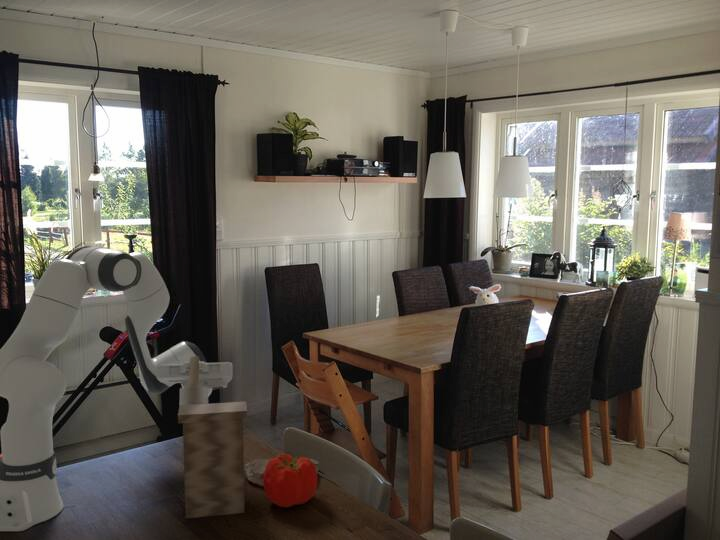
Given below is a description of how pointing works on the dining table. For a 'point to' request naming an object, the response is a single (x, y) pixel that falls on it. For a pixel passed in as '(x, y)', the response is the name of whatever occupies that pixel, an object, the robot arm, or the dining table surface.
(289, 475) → the tomato
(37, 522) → the robot arm
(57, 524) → the dining table surface
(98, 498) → the dining table surface
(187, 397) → the mallet
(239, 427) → the walnut stand
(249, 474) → the clay tablet
